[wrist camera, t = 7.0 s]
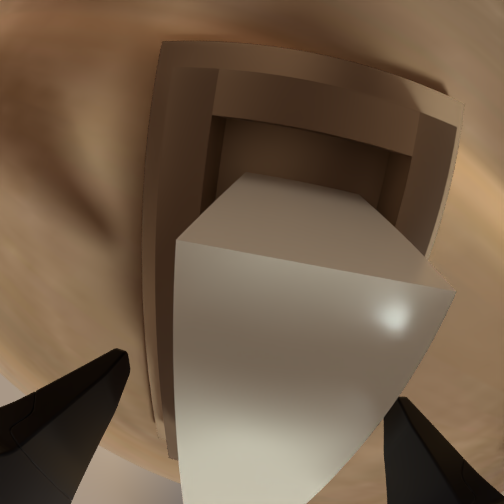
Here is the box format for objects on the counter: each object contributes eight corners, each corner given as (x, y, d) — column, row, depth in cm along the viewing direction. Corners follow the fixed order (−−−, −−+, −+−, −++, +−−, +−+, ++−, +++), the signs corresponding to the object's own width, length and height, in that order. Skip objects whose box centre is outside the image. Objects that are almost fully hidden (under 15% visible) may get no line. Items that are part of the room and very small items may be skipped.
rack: (453, 104, 8) (495, 101, 5) (316, 455, 15) (316, 488, 13) (171, 47, 8) (137, 26, 6) (161, 428, 16) (149, 460, 13)
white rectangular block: (358, 194, 9) (456, 292, 3) (279, 430, 13) (270, 533, 8) (245, 171, 9) (176, 239, 3) (212, 418, 13) (185, 519, 8)
